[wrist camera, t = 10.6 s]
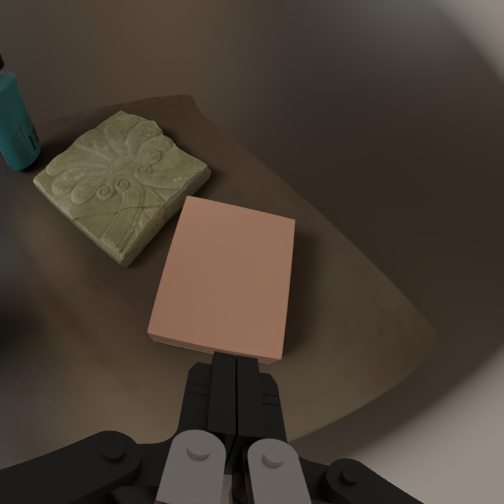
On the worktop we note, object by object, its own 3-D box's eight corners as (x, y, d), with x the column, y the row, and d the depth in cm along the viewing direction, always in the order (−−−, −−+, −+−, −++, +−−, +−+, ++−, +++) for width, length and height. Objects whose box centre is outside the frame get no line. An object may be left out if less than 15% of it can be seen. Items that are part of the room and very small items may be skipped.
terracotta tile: (281, 359, 25) (295, 219, 32) (147, 332, 24) (187, 195, 31) (270, 363, 28) (284, 237, 36) (153, 340, 27) (186, 216, 34)
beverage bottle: (46, 166, 35) (6, 55, 17) (11, 184, 32) (-39, 82, 15) (43, 142, 37) (13, 40, 19) (11, 158, 34) (-28, 63, 17)
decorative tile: (125, 272, 31) (118, 259, 28) (37, 191, 33) (28, 176, 30) (220, 174, 40) (223, 156, 37) (125, 120, 42) (123, 103, 39)
